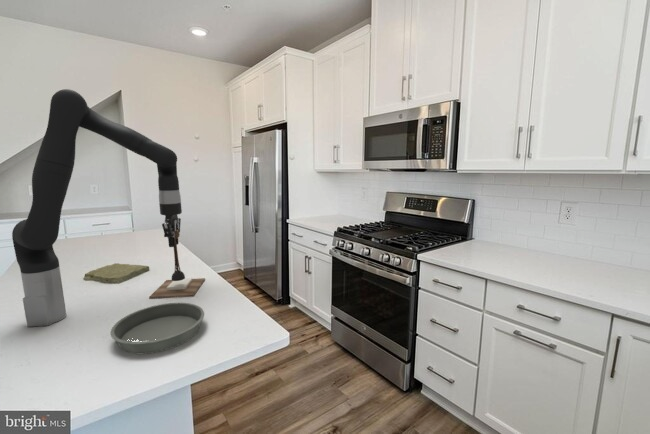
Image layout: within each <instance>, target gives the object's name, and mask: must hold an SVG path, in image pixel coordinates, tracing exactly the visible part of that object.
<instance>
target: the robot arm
mask: <svg viewBox="0 0 650 434" xmlns="http://www.w3.org/2000/svg"><path fill="white" fill-rule="evenodd" d="M49 105H50V106H49V115H48V120H47V121H48V122H47V127H46V130H45V133H44V136H43V137H42V138H43V139H42V141H41V144H40V147H39V150H38V152H37V156H36V160H35V163H34V167H33V169H32V176H31V190H32V191H31V192H32V201H31V206H30V207H31V208H30V209H29V213H28V215H27V218H26V219H23V220H20V221H19V222H18V223H16V225H15V226H14V227H13V228H12V231H11V232H12V233H11V236H12V238H11V239H12V244H13V249H14V254H15V259H16V261H17V265H18V266H19V270H20V276H21V280H22V281H21V282H22V288H23V293H24V294H23V295H24V297H23V298H22V302H23V308H24V309H23V310H24V316H25V320H26V326H27V327H44V326H50V325H52V324H54V323H57V322H59V321H61V320H64V319H65V318H66V317H67V310H66V301H65V296H64V289H63V281H62V275H61V268H60V261H59V258H58V256H57V255H56V253H55V250H54V246H53V245H54V244H55V243H56V241H57V239H58V236H59V231H60V226H61V225H60V223H61V217H62V216H61V215H62V209H63V205H64V201H65V199H66V195H67V192H68V188H69V186H70V182H71V178H72V175H73V171H74V167H75V160H76V141H77V134H78V131H79V128H82V129H86V130H87V131H90V132H93V133H95V134H97V135H100V136H101V137H104V138H106V139H108V140H110V141H111V142H114V143H115V144H117V145H119V146H121V147H123V148H125V149H127V150H129V151H131V152H133V153H135V154H136V155H139V156H141V157H144V158H146V159H148V160H150V161H151V162H153V163H155V164H156V168H157V174H158V177H157V180H158V181H157V183H158V185H157V186H158V202H159V212H160V215H161V216H165V217H164V223H161V226H162V229H163V235H165V237H164V238H167V239H168V240H167V241H168V247H169V248H174V247H175V231H176V230H177V231H178V232H179V234H180V233H181V223H182V218H180V217H179V216H178V215H181V214H182V211H183V209H182V198H181V197H182V196H181V193H180V180H179V177H178V170H177V169H178V168H177V165H178V164H177V162H178V157H177V153H176V152H175V151H173V150H172V149H170V148H168V147H167V146H165V145H163V144H160V143H158V142H155V141H153V140H152V139H150V138H149V137H147V136H146V135H144V134H142V133H140V132H138V131H136V130H135V129H134V128H130V127H128V126H125V125H122V124H120V123H117V122H114V121H113V120H110V119H108V118H106V117H104V116H103V115H101V114H99V113H98V112H96V111H94V110H93V108H90V107H89V106H88V103H87V101H86V100H85V98H84V97H83V96H82V94H80V93H79V92H77V91H75V90H73V89H70V88H68V89H67V88H65V89H61V90H58V91H56V92H55V93H54V94H52V97H51V99H50V104H49ZM169 232H170V234H169ZM176 243H177V246H178V245H179V244H180V243H179V237H178V238H177V239H176Z"/></svg>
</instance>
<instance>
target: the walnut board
mask: <svg viewBox="0 0 650 434" xmlns="http://www.w3.org/2000/svg"><path fill="white" fill-rule="evenodd" d="M205 280H206V278H205V277H204V278H203V277H201V278H200V277H199V278H192V282H191V283H190V284H189V285H188V287H187V288H186V289H185V290H167V287H168V286H169V285H170V284H171V283H172V279H166V280H165V281H164V282H163V283H162V284H161V285H160V286H159V287H157V288H156V290H154V292H153V293H152V294H150V295H149V297H148V298H149V300H150V299H151V300H152V299H154V300H155V299H169V298H170V299H171V298H186V297H187V298H188V297H195V295H196V294H197V292H198V291H199V289H200V288H201V287H202V285H203V283H204V282H205Z"/></svg>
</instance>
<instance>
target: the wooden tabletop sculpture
mask: <svg viewBox="0 0 650 434" xmlns="http://www.w3.org/2000/svg"><path fill="white" fill-rule="evenodd" d="M169 234H170V232H169ZM179 237H180V233H179V232H178V231H177V230H176V231H175V247H173V255H174V272H173V273H172V274H171V280H172V281H180V280H183V279H185V278H186V276H185V273H184V272H183V271H182V270H181V267H180V262H179V261H180V260H179V253H178V245H177V243H176V239H177V238H178V239H179ZM163 238H166V237H165V234H163Z"/></svg>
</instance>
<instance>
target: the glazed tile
mask: <svg viewBox="0 0 650 434" xmlns="http://www.w3.org/2000/svg"><path fill="white" fill-rule="evenodd" d="M192 279H193V277H185V279H183V280H180V281H172V283H171V284H170V285H169V286H168V287H167V290H185V289H186V288H187V287H188V285H189V284H190V283H191V282H192Z"/></svg>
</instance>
